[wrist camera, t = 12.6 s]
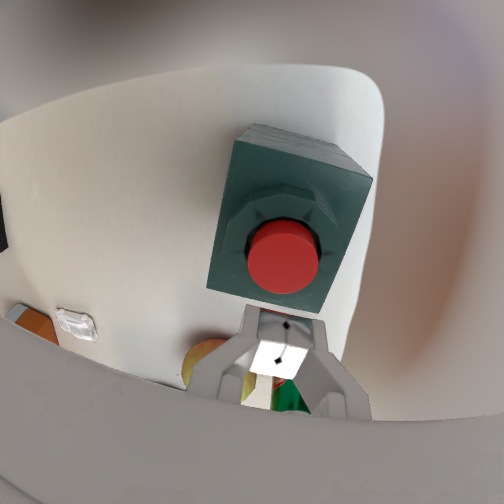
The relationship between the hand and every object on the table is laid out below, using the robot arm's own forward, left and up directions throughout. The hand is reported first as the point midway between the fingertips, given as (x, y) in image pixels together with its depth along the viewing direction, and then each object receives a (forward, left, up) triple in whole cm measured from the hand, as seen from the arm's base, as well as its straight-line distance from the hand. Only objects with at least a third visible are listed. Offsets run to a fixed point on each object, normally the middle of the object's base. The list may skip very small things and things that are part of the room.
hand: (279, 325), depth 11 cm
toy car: (+28, -25, -20) cm, 43 cm away
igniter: (0, 0, -20) cm, 20 cm away
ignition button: (0, 0, -6) cm, 6 cm away
